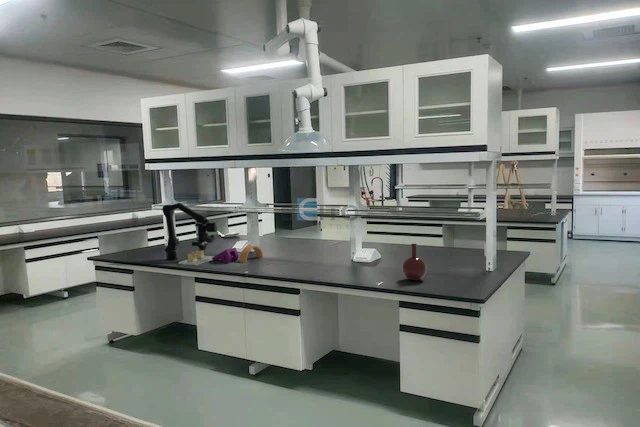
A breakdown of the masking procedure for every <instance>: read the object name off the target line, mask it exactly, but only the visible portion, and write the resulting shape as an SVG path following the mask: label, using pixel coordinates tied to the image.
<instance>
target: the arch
mask: <svg viewBox="0 0 640 427" xmlns="http://www.w3.org/2000/svg"><path fill="white" fill-rule="evenodd" d="M252 249H253V251H254V253H255V257H256V258H259V259H263V258H264V253H263V251H262V248H260V247H259V246H258V245H257V246H256V245H246V246H245V247H244V248H243V249H242V250H241V252H240V254H239V255H240V256H239V258H238V261H239V263H243V264H244V263H245V264H247V260H248V255H249V253H250V252H251V250H252Z"/></svg>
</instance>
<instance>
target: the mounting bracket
mask: <svg viewBox="0 0 640 427" xmlns="http://www.w3.org/2000/svg"><path fill="white" fill-rule="evenodd" d="M213 256H214V255H213ZM219 260H220V261H221V262H222V263H223V264H230V263H231V262H236V261H239V253H238V250H237V247H232V248H227V249H225V250H223V251H221V252H220V253H218V254H216V255H215V256H214V257H213V258H212V260H211V261H212V262H216V261H219Z"/></svg>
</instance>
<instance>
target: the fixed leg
mask: <svg viewBox="0 0 640 427" xmlns="http://www.w3.org/2000/svg"><path fill="white" fill-rule="evenodd" d="M187 259H188V261H192V262H193V261H196V260H197V257H196V252H195V251H190V252H189V253H188V254H187Z"/></svg>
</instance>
